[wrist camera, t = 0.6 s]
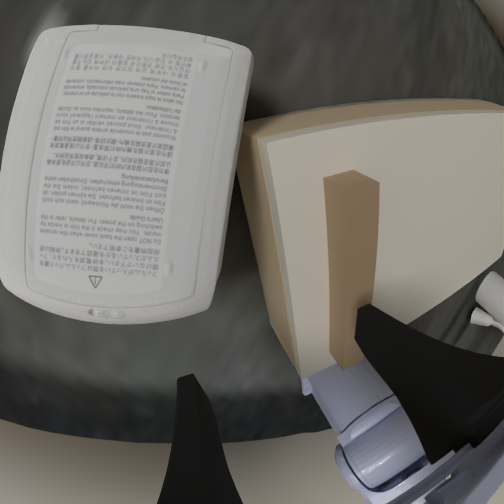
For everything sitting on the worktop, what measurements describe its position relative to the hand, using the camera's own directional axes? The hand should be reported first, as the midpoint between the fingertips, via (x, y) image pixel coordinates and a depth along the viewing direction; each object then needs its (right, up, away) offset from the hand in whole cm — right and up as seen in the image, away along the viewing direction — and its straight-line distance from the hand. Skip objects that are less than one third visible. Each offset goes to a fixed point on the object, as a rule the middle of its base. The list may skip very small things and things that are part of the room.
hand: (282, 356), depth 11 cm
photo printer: (-6, +14, -2) cm, 15 cm away
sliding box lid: (+13, +6, +6) cm, 15 cm away
